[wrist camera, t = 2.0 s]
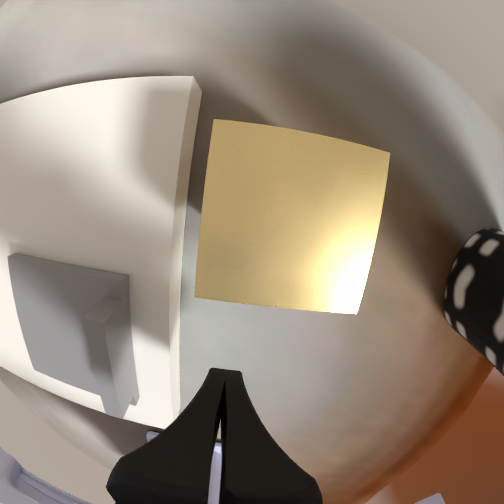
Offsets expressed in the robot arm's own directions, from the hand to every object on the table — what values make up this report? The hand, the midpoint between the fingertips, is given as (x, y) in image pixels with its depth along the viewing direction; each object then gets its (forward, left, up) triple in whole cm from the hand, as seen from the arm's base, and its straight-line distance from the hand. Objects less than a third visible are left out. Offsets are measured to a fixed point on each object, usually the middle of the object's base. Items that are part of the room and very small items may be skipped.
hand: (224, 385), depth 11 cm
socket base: (+3, +12, -4) cm, 13 cm away
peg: (+8, -1, -4) cm, 9 cm away
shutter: (0, +9, -2) cm, 9 cm away
